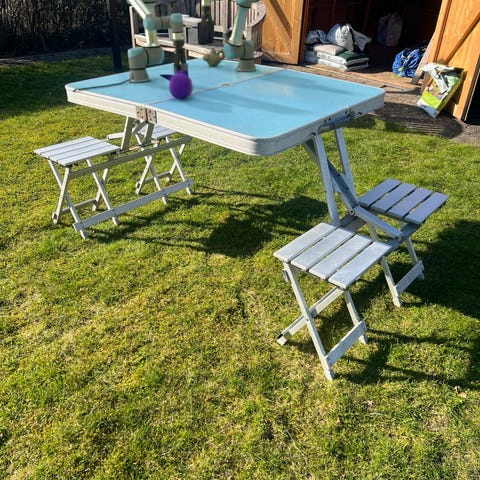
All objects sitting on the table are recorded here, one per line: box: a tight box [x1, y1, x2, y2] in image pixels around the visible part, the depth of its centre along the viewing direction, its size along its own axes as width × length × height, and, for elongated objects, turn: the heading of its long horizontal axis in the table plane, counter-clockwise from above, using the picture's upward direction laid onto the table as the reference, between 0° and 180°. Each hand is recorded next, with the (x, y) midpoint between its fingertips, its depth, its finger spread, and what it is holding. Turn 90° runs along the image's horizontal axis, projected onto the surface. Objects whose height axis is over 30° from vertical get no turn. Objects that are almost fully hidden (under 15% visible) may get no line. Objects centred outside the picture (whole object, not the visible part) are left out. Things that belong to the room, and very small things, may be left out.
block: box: [172, 62, 190, 78], centre depth 309 cm, size 6×8×11 cm
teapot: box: [202, 47, 226, 67], centre depth 386 cm, size 21×12×15 cm, turn 120°
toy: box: [159, 70, 194, 100], centre depth 286 cm, size 16×18×27 cm
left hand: (181, 75), depth 310 cm, fingers closed on block, 6 cm apart
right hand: (207, 34), depth 371 cm, fingers open, 13 cm apart
